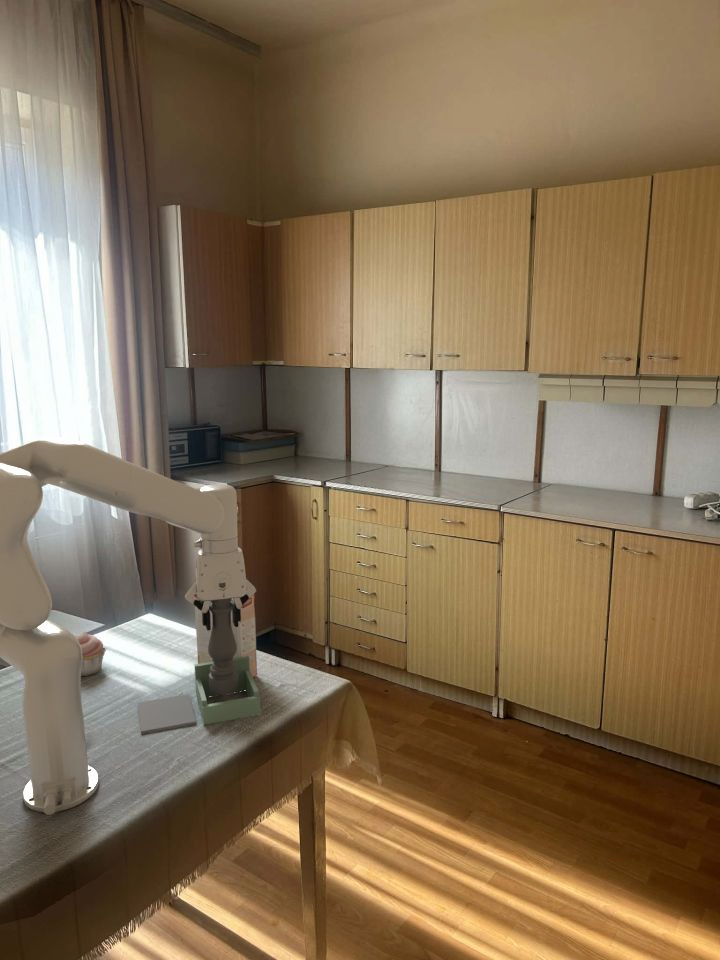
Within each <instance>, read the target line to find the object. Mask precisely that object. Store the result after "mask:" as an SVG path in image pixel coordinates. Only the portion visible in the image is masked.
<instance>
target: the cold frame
mask: <svg viewBox="0 0 720 960" xmlns="http://www.w3.org/2000/svg"><path fill="white" fill-rule="evenodd" d="M232 661H233V662H234V664H235V665H236V671H237V673H238V689H237V691H235V692H238V693H241V692H240V691H244V690H246V691H247V692H246V691H244V692H246V694H248V695H247V697H241V698H236V699H231V700H225V701H219V702H215V703H209V704H208V700H207V699H208V698H206V697H209V696H215V697H217V696H216V695H215V694H212V693H211V692H210V691H209V674H210V667H211V665H212V664H213V662H207V663H201V664H198V663H196V664H195V663H194V678H195V680H194V681H195V696H196V697H197V698H196V700H197V701H198V702H197V705H198V710H199V713H200V712H201V713H200V716H202V717H201V719H202V723H203V726H206V725H205V724H207V725H212V724H211V723H213V724H217V722H218V723H222V721H223V722H227V721H226V720H229V721H232V720H233V719H234V720H238V719H237V718H240V719H243V718H242V717H245V718H249V717H248V716H251V717H253V716H252V715H256V716H260V715H259V714H261V697H260V691H259V689H258V686H257V683H256V681H255V679H254V678H253V677H252V674H251V672H250V666H249V656H245V657H239V658H233V660H232ZM248 696H249V697H248ZM209 698H210V697H209ZM234 720H233V721H234Z"/></svg>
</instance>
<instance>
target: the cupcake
mask: <svg viewBox="0 0 720 960" xmlns="http://www.w3.org/2000/svg"><path fill="white" fill-rule="evenodd" d="M75 637H76V638H77V640H78V641H79V643H80V646H81V649H82V668H81V677H87V676H92V675H95V674H97V673H98V672H99V671H100V670H101V669H102V667H103V661H104V656H105V653H106V651H107V648H106V647H104V644H103V641H102V640H101V639H98V637H97V636H94V635H93V634H89V633H87V631H83V632H79V634H77V635H76V636H75Z"/></svg>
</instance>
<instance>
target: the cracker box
mask: <svg viewBox="0 0 720 960" xmlns="http://www.w3.org/2000/svg"><path fill="white" fill-rule="evenodd" d="M194 597H195V598H198V596H197V592H196V593H195V595H194ZM198 599H199V598H198ZM199 600H200V599H199ZM200 601H202V600H200ZM230 602H231V603H232V604H233V605H234V600H233V598H232V599H231V601H230ZM211 603H212V602H211V601H210V604H211ZM210 604H209V605H210ZM208 609H209V608H208ZM209 611H210V610H209ZM194 612H195V614H194V615H195V631H196V632H195V633H196V635H195V636H196V649H197V653H196V654H197V664H201V663H207V662H213V661H212V658H211V657H210V655H209V653H208V645H209V640H210V635H211V630H212V626H213V620H212V613H211V611H210V622H211V630H210V631H207V629H206V626H203V623H202V611H201V610H200V609H198V608H197V607H196V606H195V605H194ZM255 612H256V611H255V593H254V594H253V595H252V596H251V597H249V599H248V600H247V601H246V602H245V603H244V605H243V606H242V608H241V621H239V622H238V627H235V626H234V624H233V618H232V610H231V626H232V630H233V634H234V637H235V641H236V645H237V651H236V653H235V655H234V656H233V658H239V657H245V656H249V666H250V672H251V674H252V677H254V678H255V677H257V676H258V668H257V667H258V665H257V663H258V661H257V660H258V659H257V637H256V635H257V634H256V613H255Z"/></svg>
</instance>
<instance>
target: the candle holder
mask: <svg viewBox="0 0 720 960" xmlns="http://www.w3.org/2000/svg"><path fill="white" fill-rule="evenodd" d="M219 587H221V588H224V587H226V582H225V583H219ZM225 589H226V588H225ZM225 589H224V590H225ZM220 590H222V589H220ZM224 590H222V591H224ZM223 597H225V596H224V595H223ZM230 601H231V599H222V600H214V601H211V602H212V603H211V604H210V605H209V610H210V611H211V613H212V620H213V626H212V630H211V635H210V640H209V645H208V653H209V655H210V657H211V658H212V661H213V664H212V665H211V667H210V674H209V691H210V692H211V693H212V694H215V695H221V696H228V695H232V694H235V693H234V692H235V691H237V689H238V673H237V671H236V665H235V664H234V662H233V661H232V660H233V656H234V655H235V653H236V651H237V645H236V641H235V637H234V634H233V630H232V626H231V610H232V609H233V608H234V605H233V604H232V603H231V602H230ZM221 696H220V697H221Z"/></svg>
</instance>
